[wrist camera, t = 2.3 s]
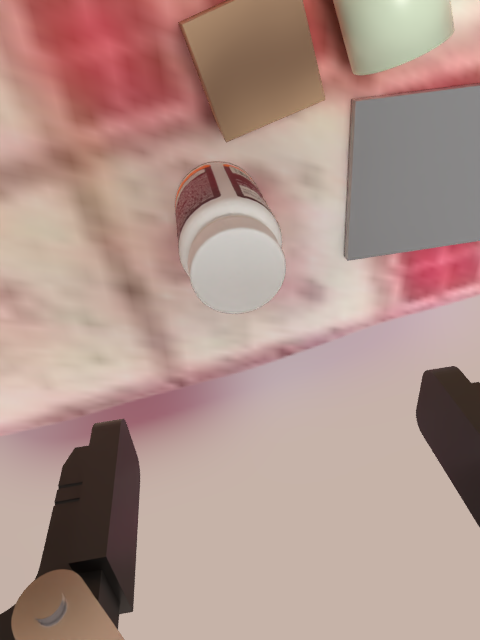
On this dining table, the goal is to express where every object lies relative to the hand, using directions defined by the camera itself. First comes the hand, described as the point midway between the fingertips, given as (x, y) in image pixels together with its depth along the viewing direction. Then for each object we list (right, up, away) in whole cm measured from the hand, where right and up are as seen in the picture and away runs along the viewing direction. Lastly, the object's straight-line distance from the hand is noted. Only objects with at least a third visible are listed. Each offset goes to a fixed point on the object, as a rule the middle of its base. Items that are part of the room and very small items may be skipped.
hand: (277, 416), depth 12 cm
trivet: (+10, +11, +14) cm, 20 cm away
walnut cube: (-1, +15, +9) cm, 18 cm away
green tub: (+6, +15, +8) cm, 18 cm away
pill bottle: (-2, +9, +13) cm, 16 cm away
